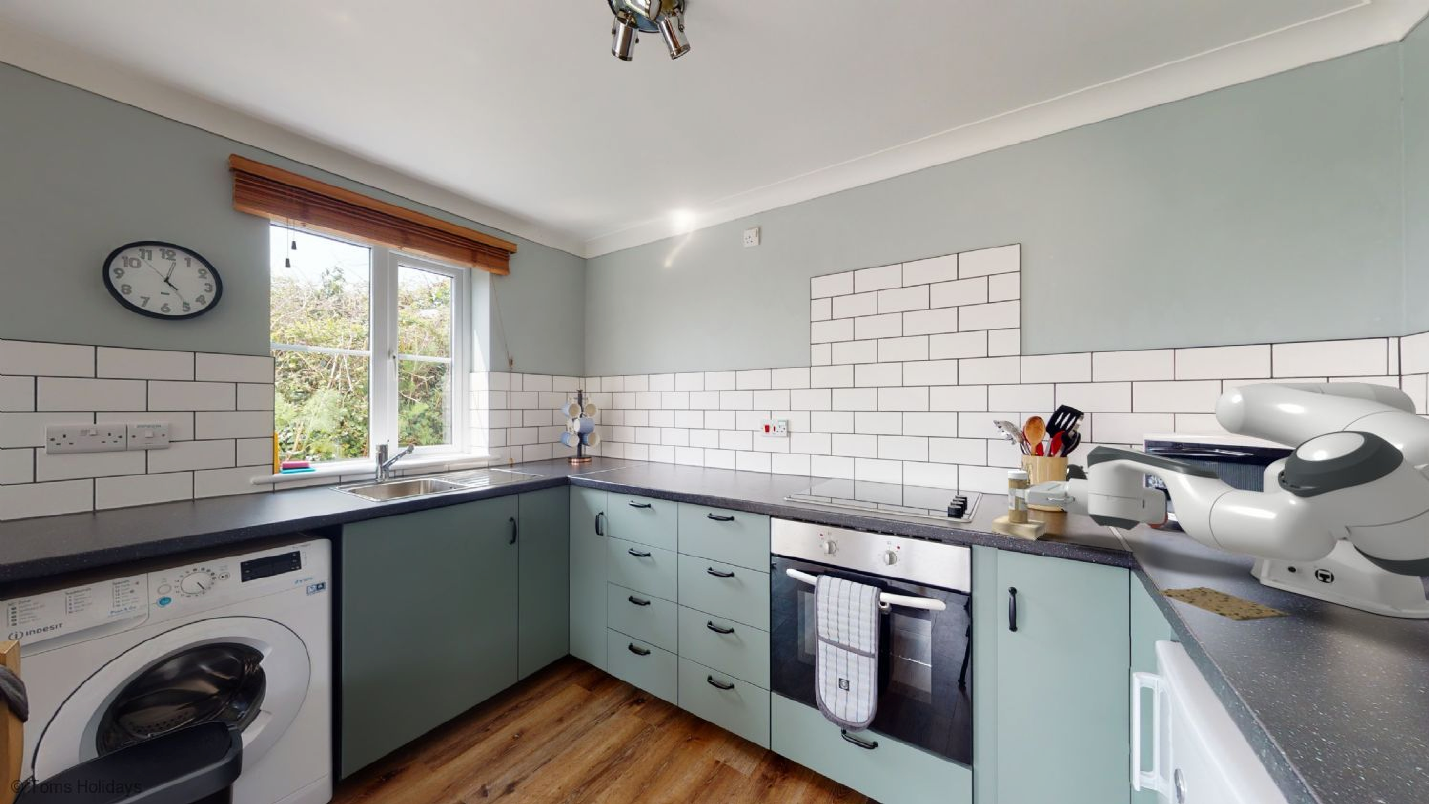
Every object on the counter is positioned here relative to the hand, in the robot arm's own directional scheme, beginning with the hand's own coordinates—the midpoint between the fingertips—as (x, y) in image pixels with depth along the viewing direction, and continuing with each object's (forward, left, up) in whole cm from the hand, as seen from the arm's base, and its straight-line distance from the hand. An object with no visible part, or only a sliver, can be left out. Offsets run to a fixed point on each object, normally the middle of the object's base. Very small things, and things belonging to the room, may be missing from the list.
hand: (1014, 489), depth 130 cm
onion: (-1, -43, -12) cm, 44 cm away
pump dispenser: (+21, -39, -12) cm, 46 cm away
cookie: (-46, -1, -12) cm, 48 cm away
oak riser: (-1, -1, -12) cm, 12 cm away
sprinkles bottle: (-1, 0, -9) cm, 9 cm away
